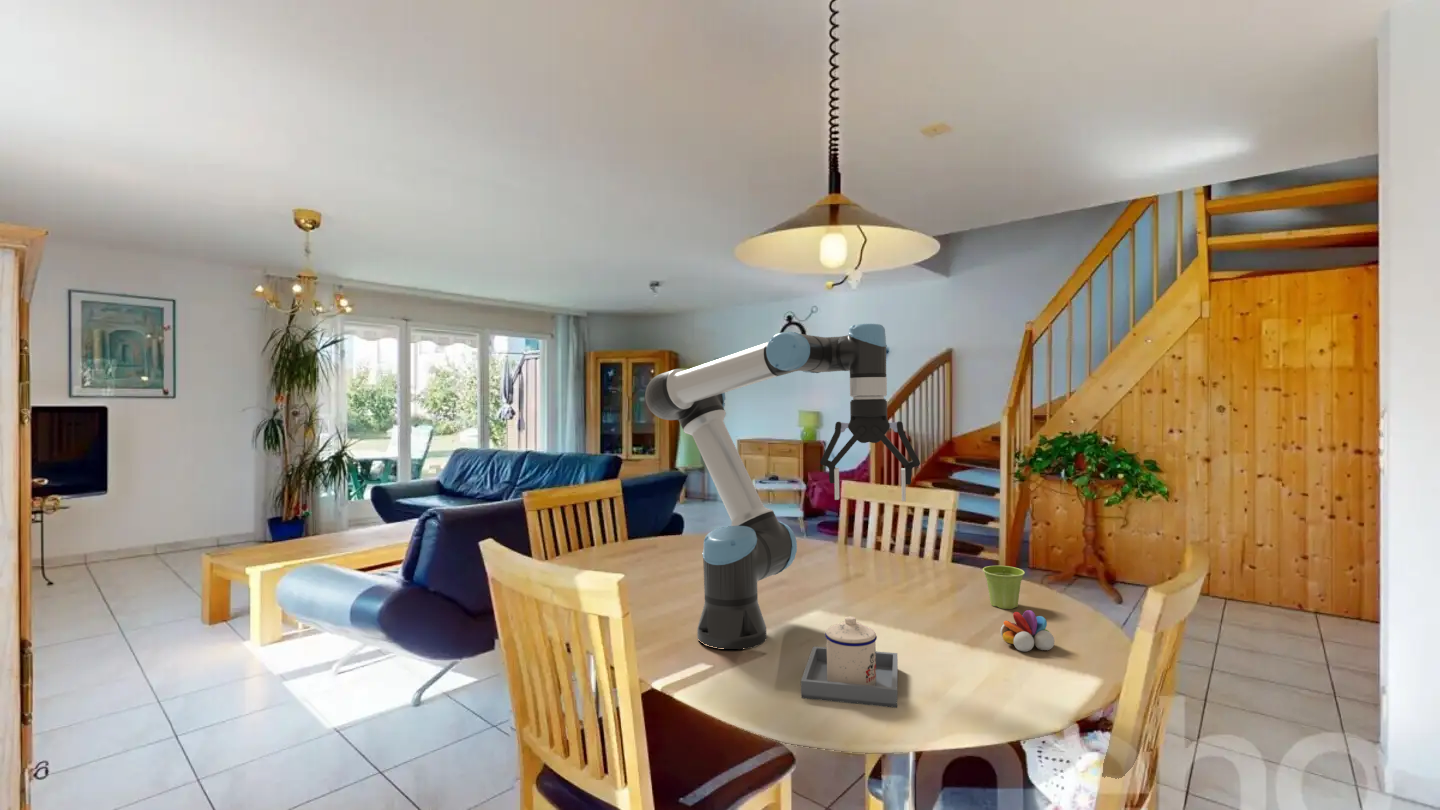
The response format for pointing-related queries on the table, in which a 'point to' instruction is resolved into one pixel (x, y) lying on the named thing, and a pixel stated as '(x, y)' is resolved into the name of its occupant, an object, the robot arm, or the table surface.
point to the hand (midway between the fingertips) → (869, 499)
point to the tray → (822, 689)
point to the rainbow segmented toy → (1027, 632)
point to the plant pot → (1003, 585)
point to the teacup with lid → (851, 653)
